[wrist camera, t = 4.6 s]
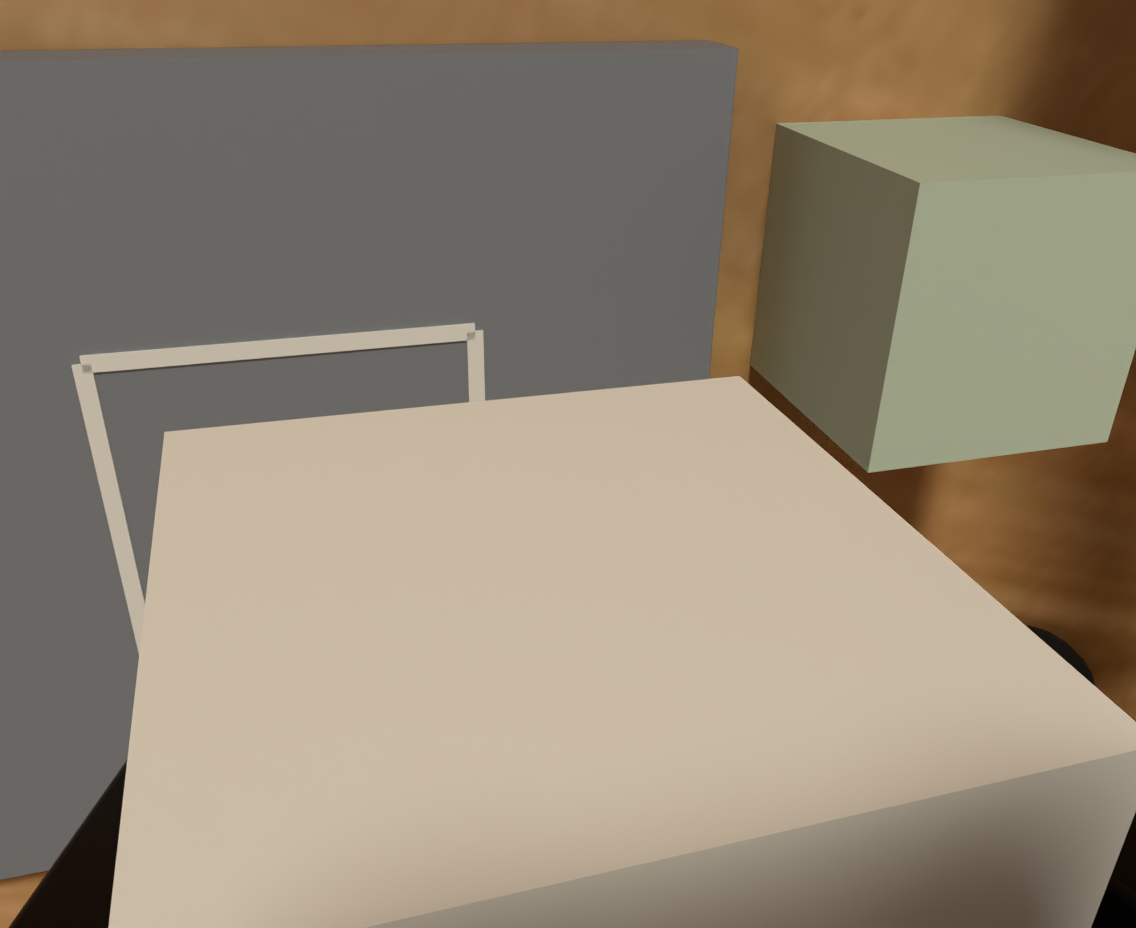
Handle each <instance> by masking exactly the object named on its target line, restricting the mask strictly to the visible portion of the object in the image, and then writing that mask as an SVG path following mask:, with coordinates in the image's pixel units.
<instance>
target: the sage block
mask: <svg viewBox="0 0 1136 928" xmlns="http://www.w3.org/2000/svg"><path fill="white" fill-rule="evenodd" d="M1135 349H1136V153H1132V152H1129V151H1125V150H1121V149H1118V148H1114V147H1111V146H1107V145H1104V144H1100V143H1097V142H1093V141H1089V140H1086V139H1082V138H1079V137H1075V136H1072V135H1068V134H1065V133H1061V132H1057V131H1054V130H1050V129H1047V128H1043V127H1040V126H1036V125H1033V124H1029V123H1025V122H1022V121H1018V120H1015V119H1011V118H1008V117H1004V116H974V117H946V118H917V119H888V120H860V121H831V122H803V123H777V124H776V133H775V142H774V151H773V160H772V169H771V178H770V187H769V196H768V205H767V214H766V223H765V232H764V241H763V250H762V259H761V268H760V277H759V286H758V295H757V304H756V313H755V322H754V331H753V340H752V349H751V358H750V366H752V367H753V368H754V369H755V370H756V371H757V372H758V373H759V374H760V375H761V376H762V377H764V378H765V379H766V380H767V381H768V382H769V383H770V384H771V385H772V386H773V387H774V388H776V389H777V390H778V391H779V392H780V393H781V394H782V395H783V396H784V397H785V398H787V399H788V400H789V401H790V402H791V403H792V404H793V405H794V406H795V407H796V408H797V409H799V410H800V411H801V412H802V413H803V414H804V415H805V416H806V417H807V418H808V419H809V420H811V421H812V422H813V423H814V424H815V425H816V426H817V427H818V428H819V429H820V430H822V431H823V432H824V433H825V434H826V435H827V436H828V437H829V438H830V439H831V440H832V441H834V442H835V443H836V444H837V445H838V446H839V447H840V448H841V449H842V450H843V451H845V452H846V453H847V454H848V455H849V456H850V457H851V458H852V459H853V460H854V461H855V462H857V463H858V464H859V465H860V466H861V467H862V468H863V469H864V470H865V471H866V472H867V473H870V472H878V471H886V470H893V469H901V468H909V467H917V466H924V465H932V464H940V463H948V462H955V461H963V460H971V459H979V458H986V457H994V456H1002V455H1010V454H1017V453H1025V452H1033V451H1041V450H1048V449H1056V448H1064V447H1072V446H1079V445H1087V444H1095V443H1103V442H1107V441H1108V438H1109V435H1110V431H1111V428H1112V425H1113V421H1114V418H1115V415H1116V412H1117V408H1118V405H1119V402H1120V398H1121V395H1122V392H1123V389H1124V385H1125V382H1126V379H1127V375H1128V372H1129V369H1130V366H1131V362H1132V359H1133V356H1134V352H1135Z"/></svg>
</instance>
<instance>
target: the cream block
mask: <svg viewBox="0 0 1136 928" xmlns="http://www.w3.org/2000/svg"><path fill="white" fill-rule="evenodd" d="M1135 812H1136V722H1135V721H1134V720H1133V719H1132V718H1131V717H1130V716H1129V715H1127V714H1126V713H1125V712H1124V711H1123V710H1122V709H1120V708H1119V707H1118V706H1117V705H1116V704H1115V703H1114V702H1112V701H1111V700H1110V699H1109V698H1108V697H1107V696H1106V695H1104V694H1103V693H1102V692H1101V691H1100V690H1099V689H1098V688H1096V687H1095V686H1094V685H1093V684H1092V683H1091V682H1090V681H1088V680H1087V679H1086V678H1085V677H1084V676H1083V675H1082V674H1080V673H1079V672H1078V671H1077V670H1076V669H1075V668H1074V667H1072V666H1071V665H1070V664H1069V663H1068V662H1067V661H1066V660H1064V659H1063V658H1062V657H1061V656H1060V655H1059V654H1057V653H1056V652H1055V651H1054V650H1053V649H1052V648H1051V647H1049V646H1048V645H1047V644H1046V643H1045V642H1044V641H1043V640H1041V639H1040V638H1039V637H1038V636H1037V635H1036V634H1035V633H1033V632H1032V631H1031V630H1030V629H1029V628H1028V627H1027V626H1025V625H1024V624H1023V623H1022V622H1021V621H1020V620H1019V619H1017V618H1016V617H1015V616H1014V615H1013V614H1012V613H1011V612H1009V611H1008V610H1007V609H1006V608H1005V607H1004V606H1003V605H1001V604H1000V603H999V602H998V601H997V600H996V599H994V598H993V597H992V596H991V595H990V594H989V593H988V592H986V591H985V590H984V589H983V588H982V587H981V586H980V585H978V584H977V583H976V582H975V581H974V580H973V579H972V578H970V577H969V576H968V575H967V574H966V573H965V572H964V571H962V570H961V569H960V568H959V567H958V566H957V565H956V564H954V563H953V562H952V561H951V560H950V559H949V558H948V557H946V556H945V555H944V554H943V553H942V552H941V551H939V550H938V549H937V548H936V547H935V546H934V545H933V544H931V543H930V542H929V541H928V540H927V539H926V538H925V537H923V536H922V535H921V534H920V533H919V532H918V531H917V530H915V529H914V528H913V527H912V526H911V525H910V524H909V523H907V522H906V521H905V520H904V519H903V518H902V517H901V516H899V515H898V514H897V513H896V512H895V511H894V510H893V509H891V508H890V507H889V506H888V505H887V504H886V503H885V502H883V501H882V500H881V499H880V498H879V497H878V496H876V495H875V494H874V493H873V492H872V491H871V490H870V489H868V488H867V487H866V486H865V485H864V484H863V483H862V482H860V481H859V480H858V479H857V478H856V477H855V476H854V475H852V474H851V473H850V472H849V471H848V470H847V469H846V468H844V467H843V466H842V465H841V464H840V463H839V462H838V461H836V460H835V459H834V458H833V457H832V456H831V455H830V454H828V453H827V452H826V451H825V450H824V449H823V448H822V447H820V446H819V445H818V444H817V443H816V442H815V441H813V440H812V439H811V438H810V437H809V436H808V435H807V434H805V433H804V432H803V431H802V430H801V429H800V428H799V427H797V426H796V425H795V424H794V423H793V422H792V421H791V420H789V419H788V418H787V417H786V416H785V415H784V414H783V413H781V412H780V411H779V410H778V409H777V408H776V407H775V406H773V405H772V404H771V403H770V402H769V401H768V400H767V399H765V398H764V397H763V396H762V395H761V394H760V393H759V392H757V391H756V390H755V389H754V388H753V387H752V386H750V385H749V384H748V383H747V382H746V381H745V380H744V379H742V378H741V377H740V376H734V377H724V378H714V379H703V380H693V381H683V382H672V383H662V384H652V385H642V386H631V387H621V388H611V389H600V390H590V391H580V392H570V393H559V394H549V395H539V396H528V397H518V398H508V399H497V400H487V401H477V402H467V403H456V404H446V405H436V406H425V407H415V408H405V409H395V410H384V411H374V412H364V413H353V414H343V415H333V416H323V417H312V418H302V419H292V420H281V421H271V422H261V423H251V424H240V425H230V426H220V427H209V428H199V429H189V430H178V431H168V432H164V441H163V450H162V458H161V467H160V476H159V485H158V494H157V503H156V511H155V520H154V529H153V538H152V547H151V556H150V564H149V573H148V582H147V591H146V600H145V608H144V617H143V626H142V635H141V644H140V653H139V661H138V670H137V679H136V688H135V697H134V706H133V714H132V723H131V732H130V741H129V750H128V759H127V767H126V776H125V785H124V794H123V803H122V812H121V820H120V829H119V838H118V847H117V856H116V865H115V873H114V882H113V891H112V900H111V909H110V917H109V926H108V928H1091V926H1092V924H1093V921H1094V919H1095V916H1096V913H1097V911H1098V908H1099V906H1100V903H1101V900H1102V898H1103V895H1104V893H1105V890H1106V887H1107V885H1108V882H1109V880H1110V877H1111V874H1112V872H1113V869H1114V867H1115V864H1116V861H1117V859H1118V856H1119V854H1120V851H1121V848H1122V846H1123V843H1124V841H1125V838H1126V835H1127V833H1128V830H1129V828H1130V825H1131V822H1132V820H1133V817H1134V815H1135Z"/></svg>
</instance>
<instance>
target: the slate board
mask: <svg viewBox="0 0 1136 928" xmlns="http://www.w3.org/2000/svg"><path fill="white" fill-rule="evenodd" d="M737 59H738V48H735V47H731V46H728V45H724V44H721V43H717V42H714V41H654V42H586V43H518V44H450V45H382V46H314V47H246V48H178V49H110V50H42V51H0V880H2V879H7V878H12V877H17V876H23V875H28V874H33V873H38V872H43V871H48V870H50V868H51V867H52V865H53V864H54V862H55V861H56V860H57V858H58V857H59V855H60V854H61V852H62V851H63V850H64V848H65V847H66V845H67V844H68V843H69V841H70V840H71V838H72V837H73V835H74V834H75V833H76V831H77V830H78V828H79V827H80V825H81V824H82V823H83V821H84V820H85V818H86V817H87V816H88V814H89V813H90V811H91V810H92V808H93V807H94V806H95V804H96V803H97V801H98V800H99V799H100V797H101V796H102V794H103V793H104V791H105V790H106V789H107V787H108V786H109V784H110V783H111V781H112V780H113V779H114V777H115V776H116V774H117V773H118V772H119V770H120V769H121V767H122V766H123V764H124V763H125V762H126V760H127V759H128V750H129V741H130V732H131V723H132V714H133V706H134V697H135V688H136V679H137V670H138V661H139V653H140V644H141V635H142V626H143V617H144V608H145V600H146V591H147V582H148V573H149V564H150V556H151V547H152V538H153V529H154V520H155V511H156V503H157V494H158V485H159V476H160V467H161V458H162V450H163V441H164V432H168V431H178V430H189V429H199V428H209V427H220V426H230V425H240V424H251V423H261V422H271V421H281V420H292V419H302V418H312V417H323V416H333V415H343V414H353V413H364V412H374V411H384V410H395V409H405V408H415V407H425V406H436V405H446V404H456V403H467V402H477V401H487V400H497V399H508V398H518V397H528V396H539V395H549V394H559V393H570V392H580V391H590V390H600V389H611V388H621V387H631V386H642V385H652V384H662V383H672V382H683V381H693V380H703V379H709V372H710V361H711V350H712V339H713V327H714V316H715V305H716V294H717V283H718V272H719V260H720V249H721V238H722V227H723V216H724V204H725V193H726V182H727V171H728V160H729V148H730V137H731V126H732V115H733V104H734V92H735V81H736V70H737Z"/></svg>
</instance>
